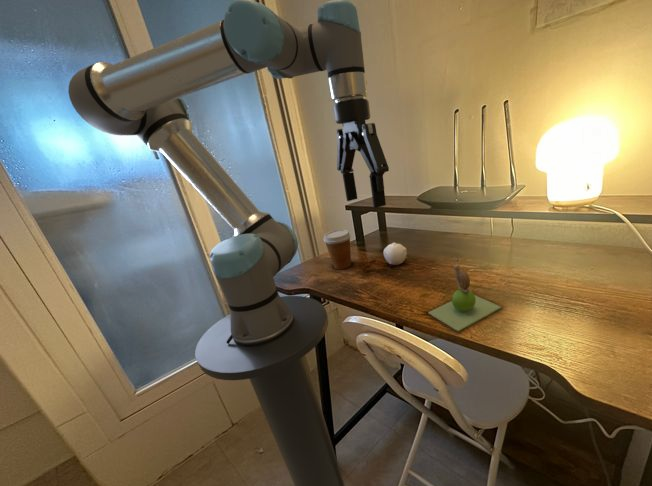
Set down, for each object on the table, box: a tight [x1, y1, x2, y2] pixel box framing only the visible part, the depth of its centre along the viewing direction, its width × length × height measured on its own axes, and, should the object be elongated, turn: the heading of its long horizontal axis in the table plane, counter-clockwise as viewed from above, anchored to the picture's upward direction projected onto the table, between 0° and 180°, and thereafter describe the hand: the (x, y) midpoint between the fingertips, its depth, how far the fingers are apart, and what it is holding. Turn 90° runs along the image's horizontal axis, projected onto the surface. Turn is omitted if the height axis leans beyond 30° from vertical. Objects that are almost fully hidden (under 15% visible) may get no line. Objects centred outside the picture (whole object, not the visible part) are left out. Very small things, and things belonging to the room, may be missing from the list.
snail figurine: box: [451, 258, 476, 312], centre depth 70 cm, size 5×6×12 cm
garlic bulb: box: [382, 242, 408, 266], centre depth 102 cm, size 8×8×8 cm
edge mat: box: [427, 294, 502, 333], centre depth 73 cm, size 14×10×1 cm
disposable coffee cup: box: [323, 229, 352, 270], centre depth 106 cm, size 10×10×12 cm
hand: (365, 203), depth 72 cm, fingers open, 13 cm apart
